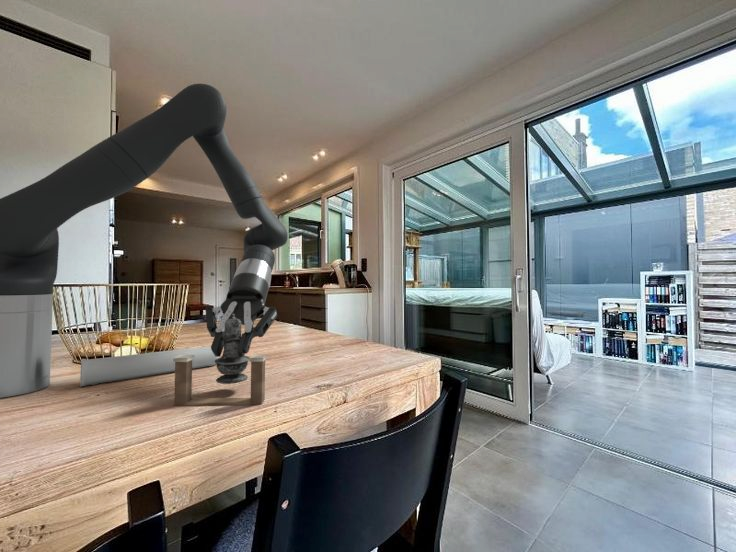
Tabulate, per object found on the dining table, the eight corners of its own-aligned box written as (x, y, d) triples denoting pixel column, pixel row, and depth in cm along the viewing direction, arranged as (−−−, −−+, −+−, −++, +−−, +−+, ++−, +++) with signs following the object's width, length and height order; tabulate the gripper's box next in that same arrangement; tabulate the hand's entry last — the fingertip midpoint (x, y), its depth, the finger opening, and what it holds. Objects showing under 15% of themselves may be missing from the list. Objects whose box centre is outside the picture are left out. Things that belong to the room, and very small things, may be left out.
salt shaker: (243, 372, 62) (244, 310, 62) (254, 379, 57) (255, 313, 57) (210, 378, 58) (211, 312, 58) (219, 386, 53) (220, 315, 53)
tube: (215, 346, 79) (81, 361, 63) (222, 342, 76) (81, 356, 59) (216, 367, 78) (79, 388, 61) (224, 364, 74) (80, 386, 57)
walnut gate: (172, 405, 51) (173, 358, 51) (179, 400, 53) (180, 355, 53) (262, 404, 51) (263, 357, 52) (266, 399, 54) (266, 354, 54)
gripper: (212, 271, 65) (178, 342, 52) (282, 271, 66) (265, 342, 53) (221, 295, 70) (193, 365, 58) (286, 296, 71) (272, 365, 58)
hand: (228, 353), depth 55 cm, fingers closed on salt shaker, 3 cm apart
